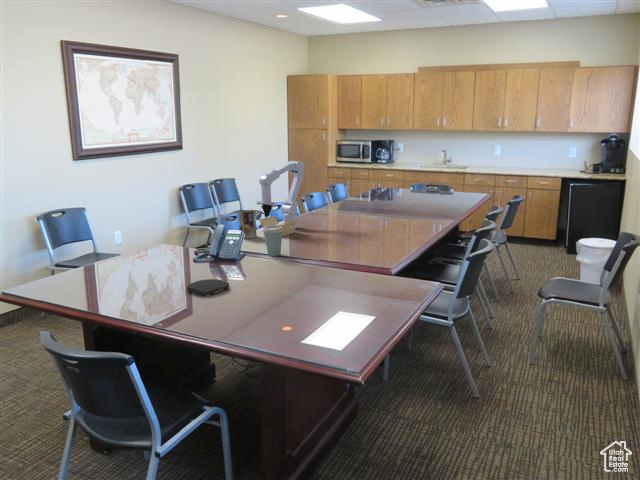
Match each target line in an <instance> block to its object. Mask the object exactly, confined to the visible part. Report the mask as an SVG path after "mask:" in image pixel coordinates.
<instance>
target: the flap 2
mask: <svg viewBox="0 0 640 480" xmlns="http://www.w3.org/2000/svg"><path fill="white" fill-rule="evenodd" d="M299 221H300V218H298V219H296V220H292V221H289V222H285V223H284V222H283V224H282V225H283V226H282V228H283V229H286V228H289V227H293V226H295V225H296V223H297V222H298V223H299Z"/></svg>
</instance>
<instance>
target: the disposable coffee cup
mask: <svg viewBox="0 0 640 480" xmlns="http://www.w3.org/2000/svg"><path fill="white" fill-rule="evenodd" d="M280 225H281V224H277V225H270V226H266V227H263V229H262V232H263V236H264V240H265V245H266V249H267V255H268V256H271V257H275V256H280V255H281V251H282V241H283V236H282V231H283V228H282V226H280Z"/></svg>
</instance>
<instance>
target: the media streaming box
mask: <svg viewBox="0 0 640 480" xmlns="http://www.w3.org/2000/svg"><path fill="white" fill-rule="evenodd" d="M228 289H229V290H230V283H229V282H227V281H225V280H222V279H217V278H213V279H200V280H197V281H193V282H192V283H189V284H188V285H187V286H186V291H187V292H188V291H189V292H188V293H190V292H192V293H191V294H193V293H196V294H198V295H197V296H199V295H201V297H208V296H207V295H211V296H214V295H213V294H215V295H217V294H216V293H218V294H220V292H221V293H224V292H227V291H229V290H228ZM226 290H227V291H226ZM223 291H224V292H223ZM196 294H195V295H196Z"/></svg>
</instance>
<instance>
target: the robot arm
mask: <svg viewBox="0 0 640 480" xmlns="http://www.w3.org/2000/svg"><path fill="white" fill-rule="evenodd" d="M304 169H305V165H304V162H303V161H300V160H299V161H298V160H297V161H296V160H289V161H287V162H286V163H285V164H284V165H283V166H281V167H279V168H278V169H272V170H271V171H270V172H269V173H266V174H265V175H262V176H260V177H259V184H260V188H261V200H258V201H256V205H261V209H262V211H263V213H264V218H267V217H270V213H271V209H272V208H273V207H277V206H278V203H277V202H274V201H272V184H273V182H275V181H276V180H278V179H280V177H281V175H282V174H285V173H286V172H289V171H290V173H292V175H293V180H292V183H291V186H290V190H289V193H288V196H287V199H286V200H284V201H283V204H282V205H281V207H280V211H281V213H282V215H283V224H284V223H285V222H289V221H292V220H296V219H299V217H298V215H297V212H298V203H297V202H296V201H297V198H298V195H299V191H300V189H301V185H302V182H303V178H304ZM297 228H299V221H298V222H297V223H296V225H295V229H297Z"/></svg>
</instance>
